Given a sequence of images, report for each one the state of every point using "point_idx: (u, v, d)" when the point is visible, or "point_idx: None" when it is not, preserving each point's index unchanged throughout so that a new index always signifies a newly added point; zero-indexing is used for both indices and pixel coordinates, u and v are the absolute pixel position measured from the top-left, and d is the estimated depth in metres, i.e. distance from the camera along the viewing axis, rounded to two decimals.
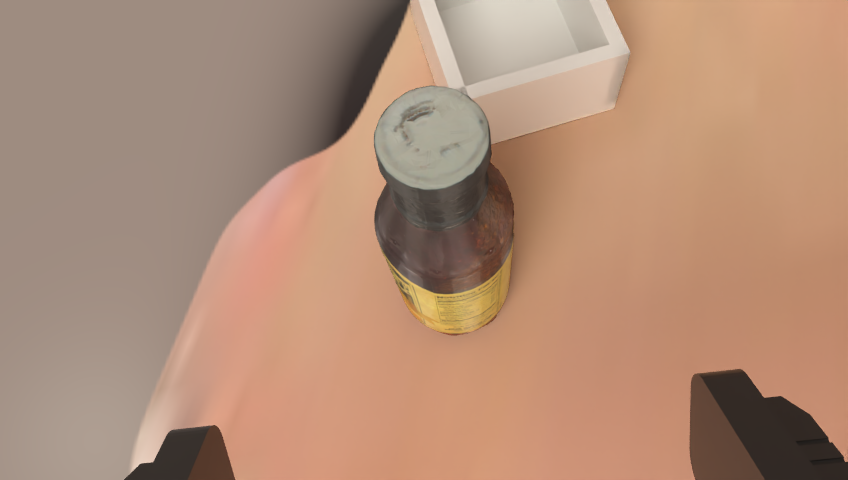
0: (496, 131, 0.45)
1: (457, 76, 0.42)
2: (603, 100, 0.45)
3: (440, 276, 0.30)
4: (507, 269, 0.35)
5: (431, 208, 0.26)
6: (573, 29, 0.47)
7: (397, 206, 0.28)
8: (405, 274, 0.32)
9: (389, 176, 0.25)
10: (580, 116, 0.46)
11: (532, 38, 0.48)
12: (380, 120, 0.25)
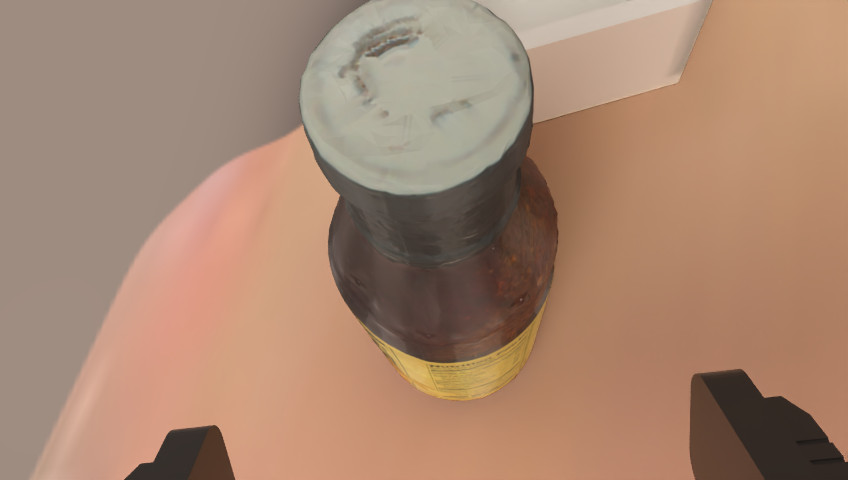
0: None
1: None
2: (665, 69, 0.33)
3: (434, 341, 0.18)
4: (540, 317, 0.23)
5: (414, 229, 0.14)
6: None
7: (355, 224, 0.16)
8: (378, 333, 0.19)
9: (327, 167, 0.12)
10: (632, 93, 0.34)
11: None
12: (312, 55, 0.13)
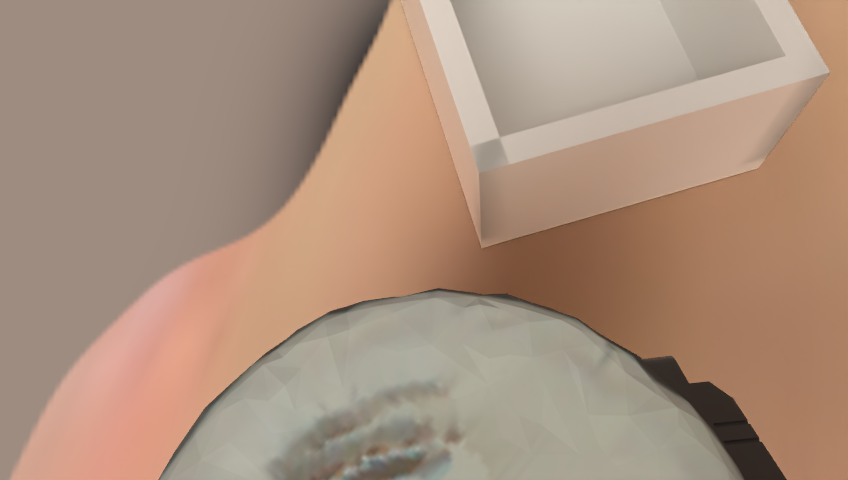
0: (551, 213, 0.25)
1: (484, 117, 0.21)
2: (746, 155, 0.25)
3: None
4: None
5: None
6: (684, 27, 0.27)
7: None
8: None
9: None
10: (699, 182, 0.26)
11: (608, 42, 0.28)
12: None
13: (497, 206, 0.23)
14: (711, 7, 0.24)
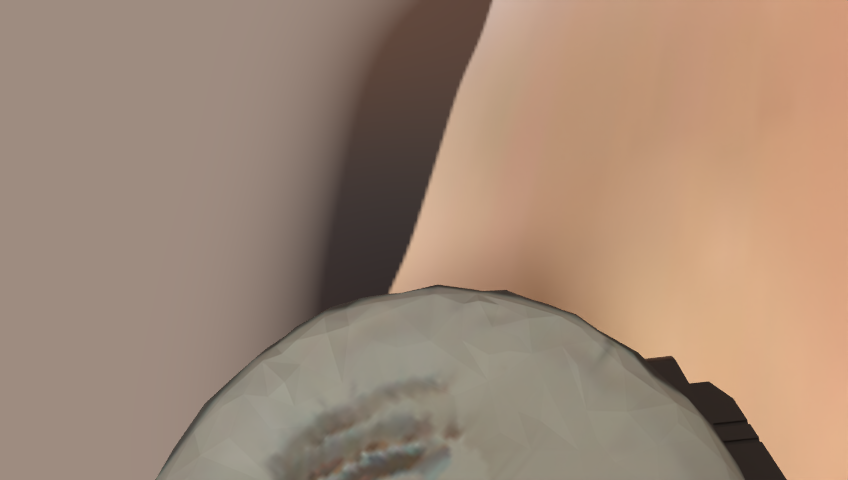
0: None
1: None
2: None
3: None
4: None
5: None
6: None
7: None
8: None
9: None
10: None
11: None
12: None
13: None
14: None
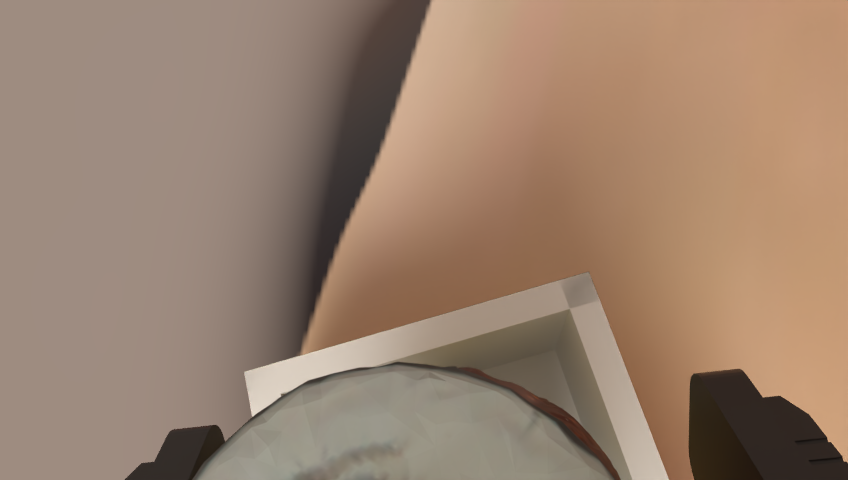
0: None
1: None
2: None
3: None
4: None
5: None
6: None
7: None
8: None
9: None
10: None
11: None
12: None
13: None
14: None
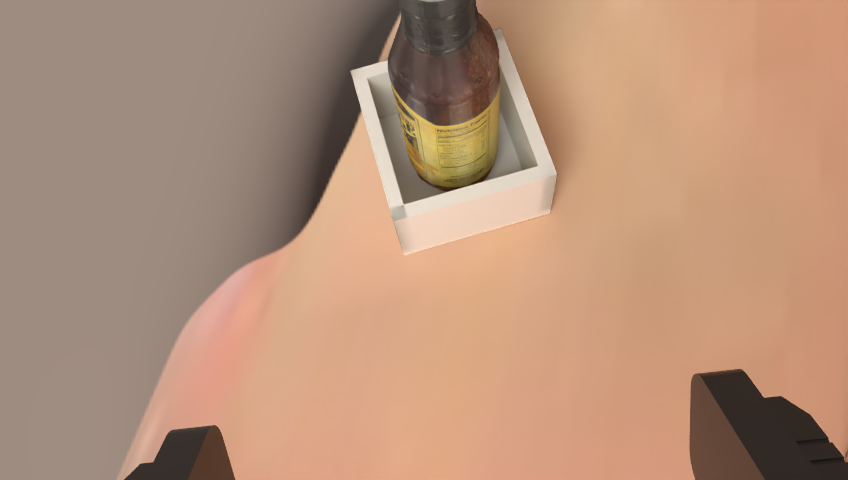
0: (437, 237, 0.48)
1: (397, 194, 0.45)
2: (537, 208, 0.49)
3: (440, 100, 0.38)
4: (495, 116, 0.43)
5: (433, 27, 0.34)
6: (513, 137, 0.50)
7: (406, 36, 0.36)
8: (412, 106, 0.40)
9: None
10: (518, 221, 0.50)
11: None
12: None
13: (407, 235, 0.47)
14: (518, 133, 0.48)
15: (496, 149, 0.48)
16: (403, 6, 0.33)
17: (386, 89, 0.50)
